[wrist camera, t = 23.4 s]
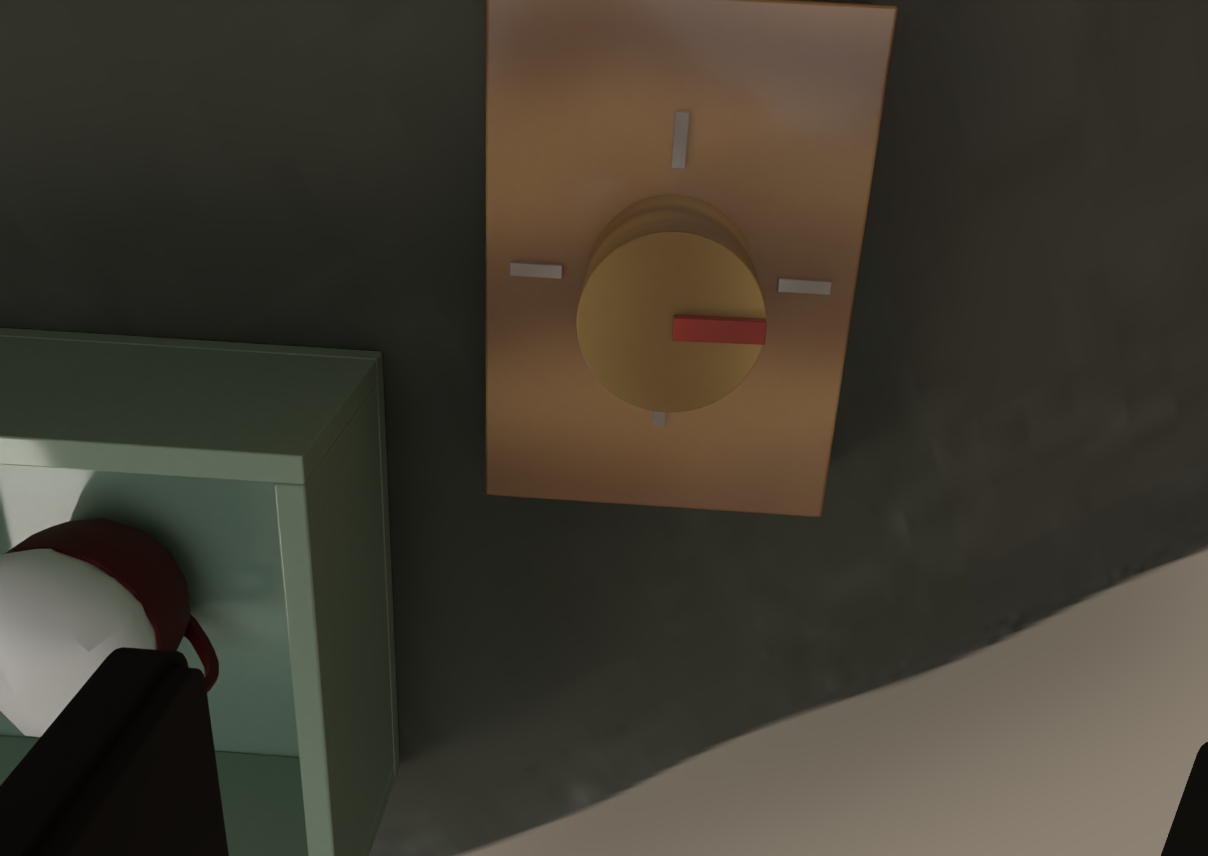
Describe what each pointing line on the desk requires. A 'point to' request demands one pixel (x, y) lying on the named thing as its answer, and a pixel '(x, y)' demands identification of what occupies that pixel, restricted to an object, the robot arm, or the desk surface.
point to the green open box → (235, 549)
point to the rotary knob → (671, 306)
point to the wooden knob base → (689, 169)
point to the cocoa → (85, 613)
